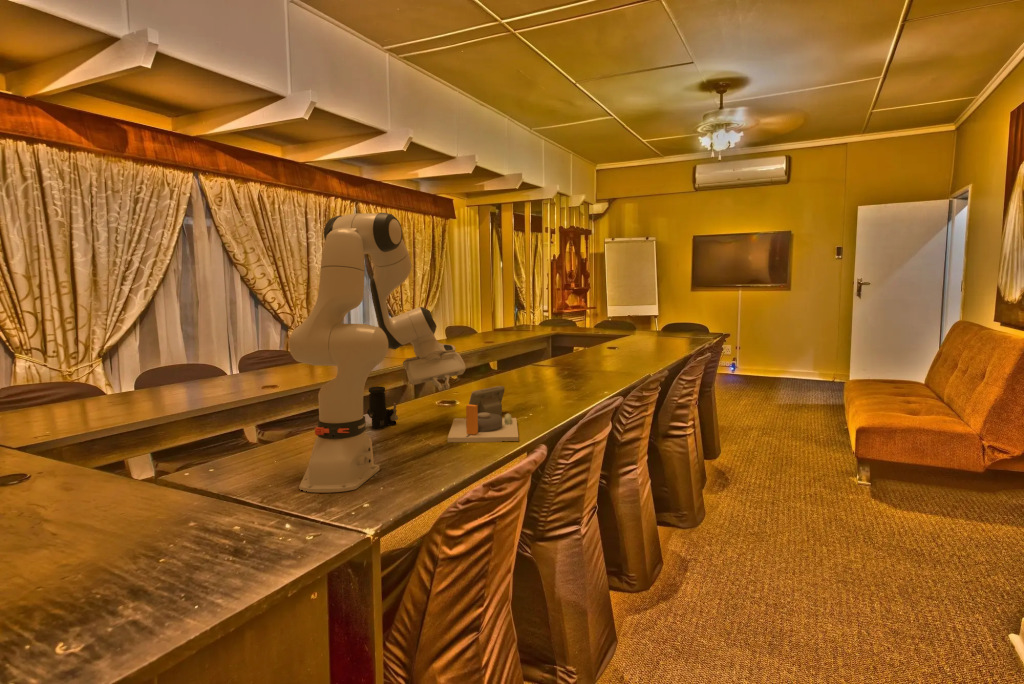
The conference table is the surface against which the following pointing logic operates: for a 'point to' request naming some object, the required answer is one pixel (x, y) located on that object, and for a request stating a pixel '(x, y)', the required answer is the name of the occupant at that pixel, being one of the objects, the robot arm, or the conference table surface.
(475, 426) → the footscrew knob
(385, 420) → the scope
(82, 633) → the conference table surface
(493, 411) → the digital clock
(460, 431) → the base
